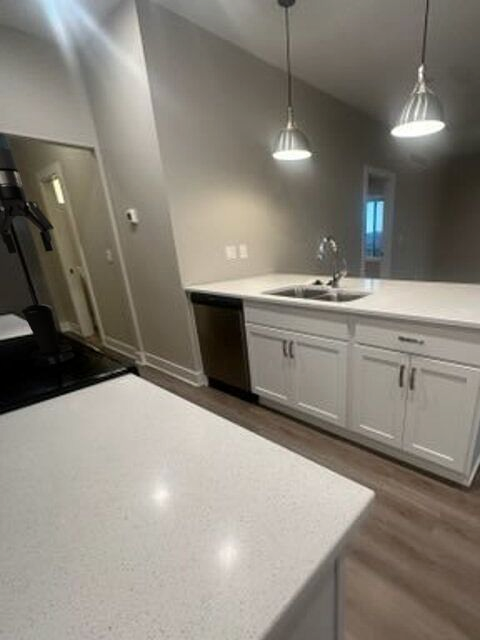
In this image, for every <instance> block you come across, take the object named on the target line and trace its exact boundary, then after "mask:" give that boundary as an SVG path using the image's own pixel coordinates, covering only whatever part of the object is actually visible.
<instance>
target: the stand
mask: <svg viewBox="0 0 480 640" xmlns="http://www.w3.org/2000/svg"><path fill="white" fill-rule="evenodd" d="M59 345H60V350H58V351H55V352H51V353H43V352H42V350H41V348H39V349H37V350H34V351H33V352H31V353H30V357H31V358H32V359H36V360H35V361H34V362H33V366H34V368H35V369H38V370H48V369H55V368H59V367H62V366H65V365H67V364H70V363H72V362H73V361H74V360H76V355H75V353H73V352H70V351H71V350H72V346H71V345H70V344H59Z"/></svg>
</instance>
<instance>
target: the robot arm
mask: <svg viewBox="0 0 480 640" xmlns="http://www.w3.org/2000/svg"><path fill="white" fill-rule="evenodd" d="M22 186H23V182H22V178H21V176H20V173H19V170H18V167H17V164H16V160H15V157H14V153H13V149H12V148H11V146H10V142H9V139H8V137H7V136H6V135H5V134H3V133H0V200H1V203H0V238H1V239H2V243H3V244H5V246H6V249H7V251H8V252H7V253H8V254H16V253H18V252H17V249H16V246H15V243H14V241H13V236H12V234H11V233H10V232H9V230H10V228H11V225H12V223H13V222H14V221H13V220H14V219H15V218H16V217H17V218H19V217H25V218H27V220H28V221H30V222H31V223H32V224H33V225H34V226H35V227H37V228H38V229H39V230H40V232H39V235H40V238H41V241H42V244H43V247H44V251H45V252H47V253H48V252H53V250H54V249H53V246H52V243H51V242H52V237H51V234H50V231H51V230H54V229H55V228H54V227H55V226H54V225H53V224H52V223H51V222H50V220H49V219H48V218H47V216H45V214H44V213H43V211H42V210H41V209H40V207H39V204H38V203H37V201H32V200H30V201H27V195H26V194H27V193H26V191H25V188H23V187H22Z"/></svg>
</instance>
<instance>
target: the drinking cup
mask: <svg viewBox="0 0 480 640" xmlns="http://www.w3.org/2000/svg"><path fill="white" fill-rule="evenodd" d="M27 289H28V292H29V296H30V298H31V301H32V305H28V306H27V307H25V308H24V309H21V311H20V313H21V314H23V316H24V318H25V320H26V322H27V324H28V326H29V328H30V331H31V332H32V334H33V336H34V338H35V340H36V342H37V344H38V346H39V349H41V350H42V352H43V353H51V352H55V351H58V350H60V345H61V344H60V341H59V336H58V332H57V328H56V327H57V326H56V324H55V323H56V322H55V319H54V315H53V310H52V309H53V307H52V305H48V304H45V303H44V304H43V303H37V301H36V298H35V296H34V293H33V289H32V286H31V287H30V286H29V287H27Z"/></svg>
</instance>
